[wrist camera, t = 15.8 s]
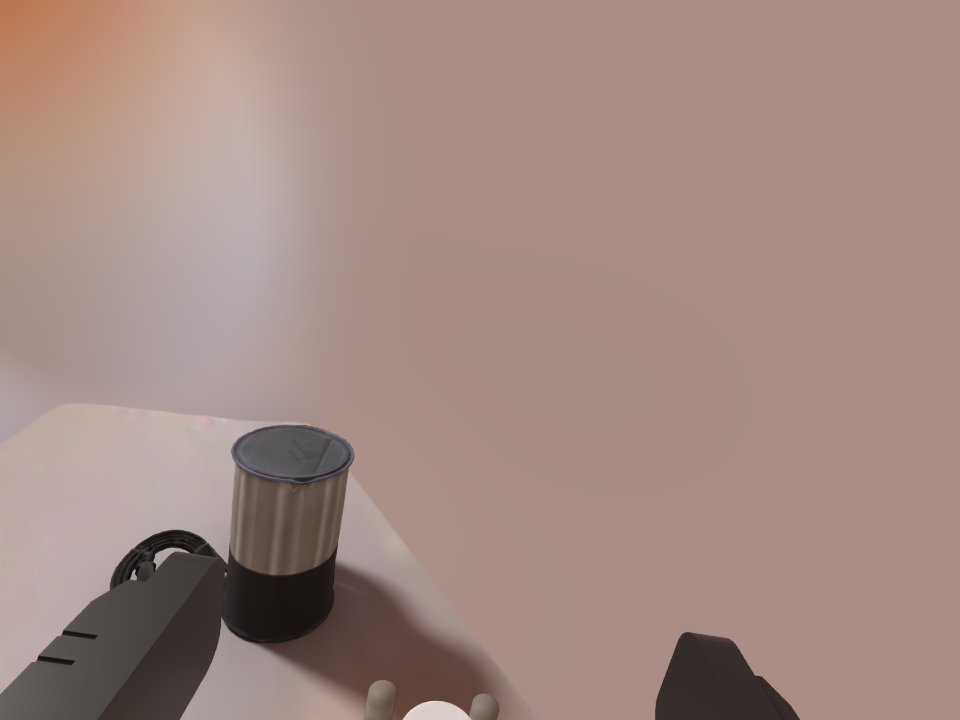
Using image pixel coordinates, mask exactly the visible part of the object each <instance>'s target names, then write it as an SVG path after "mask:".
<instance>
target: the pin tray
mask: <svg viewBox="0 0 960 720" xmlns="http://www.w3.org/2000/svg"><path fill="white" fill-rule="evenodd" d="M396 694H397V690H396V687H395V686H394V684H393V683H391V682H390V681H387V680H378V681H376V682H374V683H373V684H372V685H371V686H370V688H369V692H368V698H367V704H366V710H365V716H364V720H392V716H393V711H394V705H395V700H396ZM498 713H499V704H498V702H497V701H496V699H495V698H494V697H492V696H491V695H488V694H479V695H477V696H476V697H475V698H474V699H473V702H472V706H471V710H470V714H469V717H470V718H471V720H497V717H498Z"/></svg>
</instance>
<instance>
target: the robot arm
mask: <svg viewBox="0 0 960 720" xmlns="http://www.w3.org/2000/svg"><path fill="white" fill-rule="evenodd" d="M224 574H225V563H224V560H223V559H222V558H216V557H210V556H204V555H197V554H191V553H184V552H174V553H172V554H171V555H169V556H168V557H167V558H166V560H165V561H164V562H163V563H162V564H161V565H160V566H159V567H158V569H157V570H156V571H155V572H154V573H153V574H152V575H151V576H150V578H149V579H148V580H147V581H146V582H142V581H135V580H129V579H128V580H127V581H125V582H123V583H122V584H120V585H118V586H117V587H115V588H113V589H112V590H110V591H108V592H107V593H105V594H103V595H101V596H100V597H98V598H96V599H95V600H93V601H91V602H90V604H89V605H88V606H87V607H86V608H85V609H84V610H83V611H82V612H81V613H80V614H79V615H78V616H77V617H76V618H75V619H74V620H73V621H72V622H71V623H70V624H69V625H68V626H67V627H66V628H65V629H64V630H63V633H62V635H61V636H60V637H59V636H57V637H56V638H55V639H54V640H53V641H52V642H51V643H50V644H49V645H48V646H47V647H46V648H45V649H44V650H43V651H42V652H41V653H40V654H39V655H38V659H37V661H36V662H35V663H34V662H32V663H31V664H30V665H29V666H28V667H27V668H26V669H25V670H24V671H23V672H22V673H21V674H20V675H19V676H18V677H17V678H16V679H15V680H14V681H13V682H12V683H11V684H10V685H9V686H8V687H7V688H6V689H5V690H4V691H3V692H2V693H1V694H0V720H180V718H181V716H182V715H183V713H184V711H185V709H186V708H187V706H188V704H189V703H190V701H191V699H192V697H193V696H194V694H195V692H196V690H197V689H198V687H199V685H200V683H201V682H202V680H203V678H204V677H205V675H206V673H207V671H208V669H209V667H210V664H211V662H212V660H213V657H214V654H215V651H216V648H217V645H218V641H219V636H220V629H221V615H222V601H223V588H224ZM655 720H800V719H799V718H798V716H797V714H796V713H795V712H794V710H793V708H792V707H791V705H790V704H788V702H787V701H785V699H784V698H782V697H781V695H780V694H779V693H778V692H776V690H775V689H774V688H772V687H771V685H770V684H769V683H768V682H767V681H766V680H765V679H764V678H763V677H761V676H755V675H754V673H753V672H752V670H751V669H750V667H749V665H748V664H747V662H746V660H745V659H744V657H743V655H742V654H741V652H740V650H739V649H738V647H737V646H736V644H735V643H734V642H733V641H731V640H730V639H727V638H722V637H715V636H709V635H703V634H697V633H689V632H686V633H683V634H682V635H681V637H680V638H679V640H678V642H677V645H676V648H675V650H674V653H673V656H672V659H671V661H670V664H669V667H668V669H667V672H666V675H665V677H664V680H663V683H662V686H661V688H660V691H659V693H658V697H657V701H656V709H655Z"/></svg>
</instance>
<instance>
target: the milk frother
mask: <svg viewBox="0 0 960 720" xmlns="http://www.w3.org/2000/svg"><path fill="white" fill-rule="evenodd" d="M231 453H232V457H233V459H234V461H235V474H234V488H233V502H232V517H231V531H230V545H229V560H228V564H227V563H226V562H225V561H224V563H225V572H226V573H227V578H226V585H225V591H224V592H223V601H222V615H221V616H222V619H223V620H224V622H225V623H226V625H227V626H228V627H229V628H230V629H231V630H232V631H234V632H235V633H236V634H238V635H240V636H242V637H244V638H247V639H250V640H255V641H265V642H274V641H285V640H289V639H293V638H296V637H298V636H301V635H303V634H305V633H307V632H309V631H310V630H312V629H314V628H315V627H316V626H318V625H319V624H320V623H321V622H322V621H323V620H324V619H325V618H326V617H327V615H328V614H329V612H330V610H331V608H332V605H333V601H334V590H333V584H334V568H335V560H336V554H337V547H338V539H339V533H340V527H341V521H342V514H343V507H344V500H345V492H346V485H347V478H348V471H349V466H350V465H351V464H352V462H353V460H354V452H353V448H352V447H351V445H350V444H349V443H348V442H347V441H346V440H345V439H343V438H342V437H340V436H339V435H337V434H334V433H332V432H330V431H327V430H325V429H320V428H315V427H312V426H307V425H277V426H270V427H264V428H260V429H256V430H254V431H252V432H250V433H247V434H245V435H243V436H242V437H240V438H239V439H238V440H237V441H236V442H235V443H234V444H233V447H232V450H231ZM167 548H181V549H183V550H186V551H188V552H190V553H191V554H197V555H204V556H210V557H216V558H221V557H220V556H219V555H218V554H217V553H216V551H215V550H214V549H213V548H212V547H211V546H210V545H209V543H207V542H206V541H205V540H204V539H203V538H201V537H200V536H198V535H196V534H194V533H191V532H188V531H184V530H168V531H164V532H160V533H157V534H154V535H152V536H151V537H149V538H147V539H146V540H144V541H142V542H141V543H139V544H138V545H137V546H136V547H135V548H133V549H131V551H130V552H129V553H128V554H127V555H126V556H125V557H124V558H123V559H122V561H121V562H120V563H119V565H118V566H117V567H116V569H115V571H114V573H113V575H112V578H111V583H110V590H112V589H113V588H115V587H117V586H118V585H120V584H122V583H123V582H125V581H127V580H128V579H129V580H130V578H131V575H132V571H133V570H134V569H135V570H136V572H135V575H136V576H137V581H142V582H146V581H147V580H148V579H149V578H150V576H151V575H152V574H153V573H154V572H155V569H156V564H155V563H154V562H153V561H154V558H155V554H156V553H158V552H159V551H162V550H164V549H167Z"/></svg>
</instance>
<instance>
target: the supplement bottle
mask: <svg viewBox="0 0 960 720" xmlns="http://www.w3.org/2000/svg"><path fill="white" fill-rule="evenodd" d="M403 720H471V718H470V717H469V716H468V715H467V714H466V713H465V712H464V711H463V710H461V709H460V708H458V707H457V706H455V705H453V704H450V703H447V702H443V701H429V702H425V703H422V704H420V705H418V706H416V707H414V708H413V709H412V710H410V711H409V712H408V713H407V715H406V716H405V717H404V719H403Z"/></svg>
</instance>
